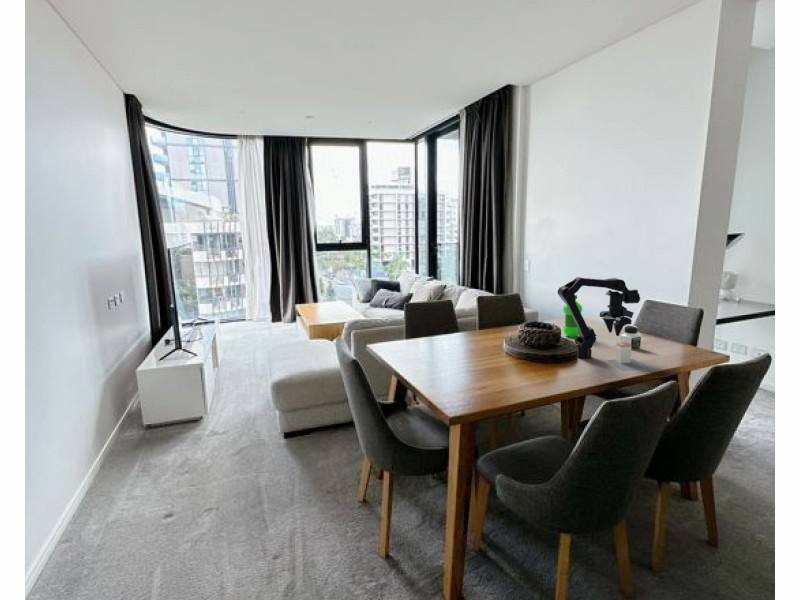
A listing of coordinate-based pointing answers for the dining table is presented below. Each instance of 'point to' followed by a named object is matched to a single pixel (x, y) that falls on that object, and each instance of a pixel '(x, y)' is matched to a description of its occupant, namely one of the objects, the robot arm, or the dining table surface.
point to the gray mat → (629, 365)
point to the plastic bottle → (571, 321)
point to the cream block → (623, 352)
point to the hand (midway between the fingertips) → (613, 334)
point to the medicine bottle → (631, 337)
